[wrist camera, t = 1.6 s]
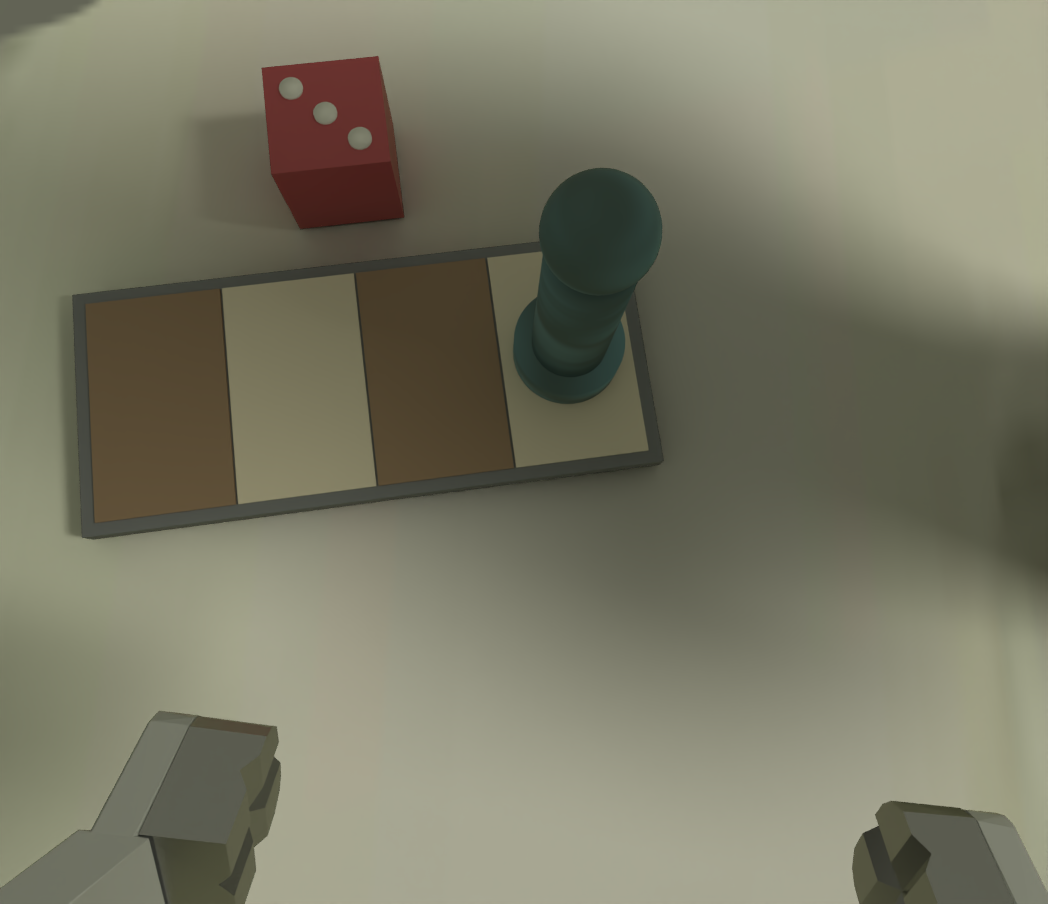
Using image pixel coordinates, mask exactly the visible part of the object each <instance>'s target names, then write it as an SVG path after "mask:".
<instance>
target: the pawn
mask: <svg viewBox="0 0 1048 904" xmlns="http://www.w3.org/2000/svg"><path fill="white" fill-rule="evenodd" d="M539 240H540V247H541V251H542V254H543V257H542V264H541V272H540V279H539V287H538V294H537V297H536V298H535V299H534V300H532V301H531V302H530V303H529V304H528V305H527V306H526V307H525V309H524V310H523V312H522V313H521V315H520V317H519V319H518V321H517V324H516V327H515V332H514V344H513V359H514V363H515V367H516V370H517V372H518V374H519V376H520V378H521V379H522V381H523V382H524V384H525V385H526V386H527V387H528V388H529V389H530V390H531V391H532V392H534V393H535V394H536V395H538V396H540V397H541V398H544V399H546V400H548V401H551V402H555V403H560V404H575V403H580V402H584V401H587V400H589V399H591V398H593V397H595V396H596V395H598V394H599V393H601V392H602V391H603V390H604V389H605V388H606V387H607V386H608V385H609V384H610V382H611V381H612V379H613V377H614V376H615V374H616V372H617V370H618V368H619V366H620V364H621V362H622V359H623V356H624V351H625V333H624V329H623V325H622V323H621V318H622V316H623V314H624V311H625V309H626V307H627V305H628V302H629V300H630V298H631V296H632V293H633V291H634V289H635V287H636V284H637V282H638V281H639V280H640V279H641V278H642V277H643V276H644V275H645V274H646V273H647V272H648V271H649V269H650V268H651V266H652V265H653V263H654V261H655V259H656V257H657V255H658V252H659V249H660V245H661V240H662V220H661V215H660V211H659V208H658V206H657V203H656V201H655V199H654V198H653V196H652V194H651V193H650V192H649V190H648V189H647V188H646V187H645V186H644V185H643V184H642V183H641V182H640V181H639V180H637V179H636V178H634V177H633V176H631V175H629V174H627V173H625V172H622V171H619V170H615V169H610V168H595V169H589V170H586V171H582V172H580V173H577V174H575V175H573V176H571V177H570V178H568V179H567V180H565V181H564V182H563V183H562V184H561V185H559V186H558V188H557V189H556V190H555V191H554V192H553V193H552V195H551V196H550V198H549V199H548V201H547V203H546V205H545V207H544V210H543V212H542V216H541V220H540V225H539Z"/></svg>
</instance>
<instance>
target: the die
mask: <svg viewBox="0 0 1048 904" xmlns="http://www.w3.org/2000/svg"><path fill="white" fill-rule="evenodd" d="M262 76H263V87H264V99H265V110H266V121H267V132H268V144H269V155H270V166H271V175H272V177H273V178H274V180H275V182H276V184H277V186H278V188H279V190H280V192H281V194H282V195H283V197H284V199H285V201H286V203H287V205H288V207H289V209H290V210H291V212H292V214H293V216H294V218H295V220H296V222H297V224H298V226H299V227H300V229H304V228H313V227H322V226H331V225H340V224H349V223H358V222H367V221H376V220H385V219H394V218H403V217H404V212H403V203H402V195H401V187H400V178H399V170H398V162H397V153H396V145H395V137H394V128H393V122H392V117H391V113H390V108H389V103H388V99H387V94H386V90H385V85H384V80H383V76H382V71H381V67H380V62H379V57H378V56H376V57H366V58H356V59H346V60H335V61H325V62H315V63H305V64H295V65H285V66H275V67H265V68H262Z"/></svg>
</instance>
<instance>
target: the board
mask: <svg viewBox="0 0 1048 904" xmlns="http://www.w3.org/2000/svg"><path fill="white" fill-rule="evenodd" d="M542 257H543V254H542V251H541V247H540V242H531V243H523V244H514V245H505V246H497V247H488V248H479V249H470V250H462V251H453V252H444V253H435V254H427V255H418V256H409V257H400V258H392V259H383V260H374V261H366V262H357V263H348V264H339V265H331V266H322V267H313V268H304V269H296V270H287V271H278V272H269V273H261V274H252V275H243V276H235V277H226V278H217V279H208V280H200V281H191V282H182V283H173V284H165V285H156V286H147V287H138V288H130V289H121V290H112V291H104V292H95V293H86V294H77V295H72V297H73V322H74V347H75V373H76V398H77V423H78V448H79V474H80V499H81V524H82V538H87V539H101V538H108V537H116V536H123V535H131V534H139V533H146V532H154V531H161V530H169V529H176V528H184V527H191V526H199V525H207V524H214V523H222V522H229V521H237V520H244V519H252V518H259V517H267V516H274V515H282V514H290V513H297V512H305V511H312V510H320V509H327V508H335V507H342V506H350V505H358V504H365V503H373V502H380V501H388V500H395V499H403V498H410V497H418V496H425V495H433V494H441V493H448V492H456V491H463V490H471V489H478V488H486V487H493V486H501V485H509V484H516V483H524V482H531V481H539V480H546V479H554V478H561V477H569V476H577V475H584V474H592V473H599V472H607V471H614V470H622V469H629V468H637V467H644V466H652V465H659V464H660V463H662V462H663V461H664V460H663V454H662V449H661V443H660V437H659V431H658V425H657V420H656V414H655V408H654V402H653V396H652V390H651V385H650V379H649V373H648V367H647V361H646V356H645V350H644V344H643V338H642V332H641V327H640V321H639V315H638V309H637V303H636V298H635V292H634V291H633V293H632V296H631V298H630V300H629V302H628V305H627V307H626V309H625V311H624V314H623V316H622V318H621V323H622V325H623V329H624V333H625V351H624V356H623V359H622V362H621V364H620V366H619V368H618V370H617V372H616V374H615V376H614V377H613V379H612V381H611V382H610V384H609V385H608V386H607V387H606V388H605V389H604V390H603V391H602V392H601V393H599V394H598V395H596V396H595V397H593V398H591V399H589V400H587V401H584V402H580V403H575V404H560V403H555V402H551V401H548V400H546V399H544V398H541V397H540V396H538V395H536V394H535V393H534V392H532V391H531V390H530V389H529V388H528V387H527V386H526V385H525V384H524V382H523V381H522V379H521V378H520V376H519V374H518V372H517V370H516V367H515V363H514V359H513V344H514V332H515V327H516V324H517V321H518V319H519V317H520V315H521V313H522V312H523V310H524V309H525V307H526V306H527V305H528V304H529V303H530V302H531V301H532V300H534V299H535V298H536V297H537V294H538V287H539V279H540V272H541V264H542Z"/></svg>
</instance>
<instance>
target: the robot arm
mask: <svg viewBox="0 0 1048 904" xmlns="http://www.w3.org/2000/svg"><path fill="white" fill-rule="evenodd" d="M278 743H279V739H278V731H277V726H269V725H262V724H254V723H247V722H239V721H232V720H224V719H217V718H209V717H202V716H198V715H190V714H182V713H173V712H165V711H159V712H158V713H157V714H156V715H155V716H154V717H153V718H152V719H151V720H150V721H149V722H148V724H147V726H146V728H145V730H144V731H143V733H142V735H141V737H140V739H139V741H138V743H137V745H136V746H135V748H134V750H133V752H132V754H131V756H130V758H129V760H128V761H127V763H126V765H125V767H124V769H123V771H122V773H121V775H120V776H119V778H118V780H117V782H116V784H115V786H114V788H113V790H112V792H111V793H110V795H109V797H108V799H107V801H106V803H105V805H104V807H103V808H102V810H101V812H100V814H99V816H98V818H97V820H96V822H95V823H94V825H93V827H92V829H91V831H90V830H77V831H76V832H75V833H73V834H72V835H71V836H69V837H68V838H67V839H65V840H64V841H63V842H61V843H60V844H59V845H57V846H56V847H55V848H53V849H52V850H51V851H49V852H48V853H47V854H45V855H44V856H43V857H41V858H40V859H39V860H37V861H36V862H35V863H33V864H32V865H31V866H29V867H28V868H27V869H25V870H24V871H23V872H21V873H20V874H19V875H17V876H16V877H15V878H13V879H12V880H11V881H9V882H8V883H7V884H5V885H4V886H3V887H1V888H0V904H245V901H246V898H247V896H248V893H249V890H250V887H251V884H252V881H253V878H254V875H255V872H256V863H255V853H254V847H255V846H256V845H257V844H259V843H260V842H261V841H262V840H263V839H264V838H265V837H267V836H268V833H269V830H270V827H271V823H272V820H273V817H274V814H275V809H276V805H277V800H278V796H279V791H280V781H281V764H280V762H279V761H278V760H277V759H276V758H275V757H274V754H275V752H276V749H277V746H278ZM875 816H876V819H877V822H878V825H879V826H877V827H875V828H873V829H871V830H869V831H867V832H864V833H863V834H862V835H861V837H860V839H859V841H858V842H857V844H856V846H855V848H854V856H853V865H852V871H853V879H854V886H855V890H856V894H857V897H858V901H859V904H1048V892H1047V890H1046V888H1045V886H1044V884H1043V882H1042V880H1041V878H1040V876H1039V874H1038V872H1037V870H1036V868H1035V866H1034V864H1033V862H1032V860H1031V858H1030V856H1029V854H1028V852H1027V850H1026V848H1025V846H1024V844H1023V842H1022V840H1021V838H1020V836H1019V834H1018V832H1017V830H1016V828H1015V826H1014V825H1013V823H1012V822H1011V821H1010V820H1009V819H1008V818H1007V817H1006V816H1005V815H1001V814H998V813H992V812H983V811H973V810H964V809H961V808H956V807H946V806H937V805H927V804H917V803H908V802H898V801H889V802H887V803H884V804H882V805H881V807H880V808H879V810H878V811H877V813H876V814H875Z"/></svg>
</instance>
